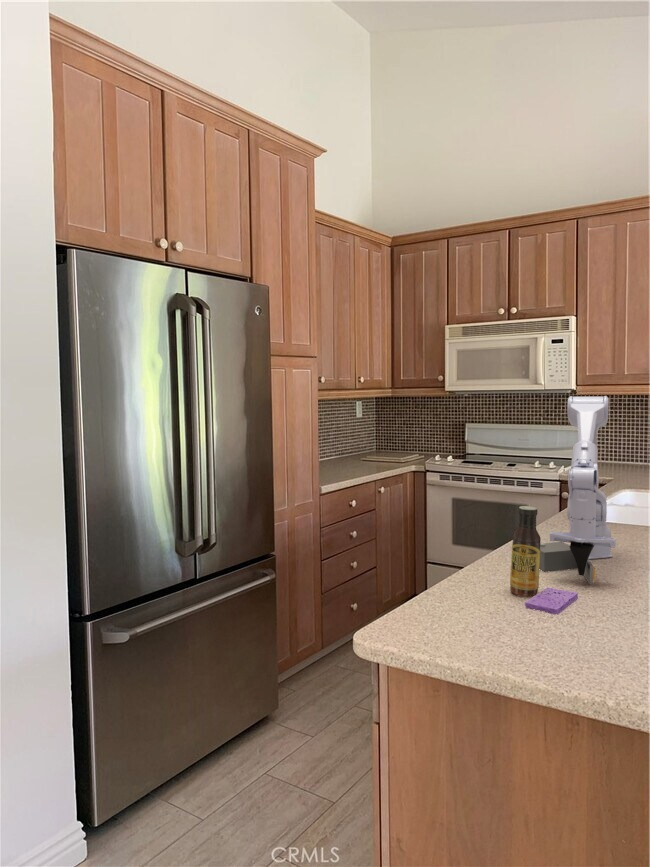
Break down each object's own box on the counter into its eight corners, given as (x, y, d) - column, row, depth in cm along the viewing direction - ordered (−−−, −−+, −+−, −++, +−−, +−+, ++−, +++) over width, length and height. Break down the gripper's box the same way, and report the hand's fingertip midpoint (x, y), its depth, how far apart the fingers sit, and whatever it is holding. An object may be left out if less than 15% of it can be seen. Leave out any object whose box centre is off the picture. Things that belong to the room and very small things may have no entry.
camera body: (561, 560, 175) (561, 539, 174) (579, 568, 167) (579, 547, 167) (525, 563, 172) (525, 542, 172) (542, 572, 165) (542, 550, 164)
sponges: (578, 600, 145) (578, 592, 145) (557, 617, 136) (557, 608, 136) (547, 594, 150) (547, 586, 150) (524, 610, 140) (524, 601, 140)
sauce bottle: (507, 595, 148) (507, 508, 146) (513, 587, 153) (513, 503, 152) (537, 599, 145) (538, 511, 143) (542, 591, 150) (543, 505, 149)
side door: (578, 567, 167) (578, 550, 167) (584, 567, 167) (584, 550, 166) (589, 584, 154) (589, 565, 153) (595, 584, 154) (595, 566, 153)
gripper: (547, 517, 155) (546, 573, 156) (613, 523, 147) (612, 582, 149) (553, 512, 161) (552, 566, 162) (617, 518, 154) (616, 574, 155)
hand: (581, 573), depth 156 cm, fingers closed
